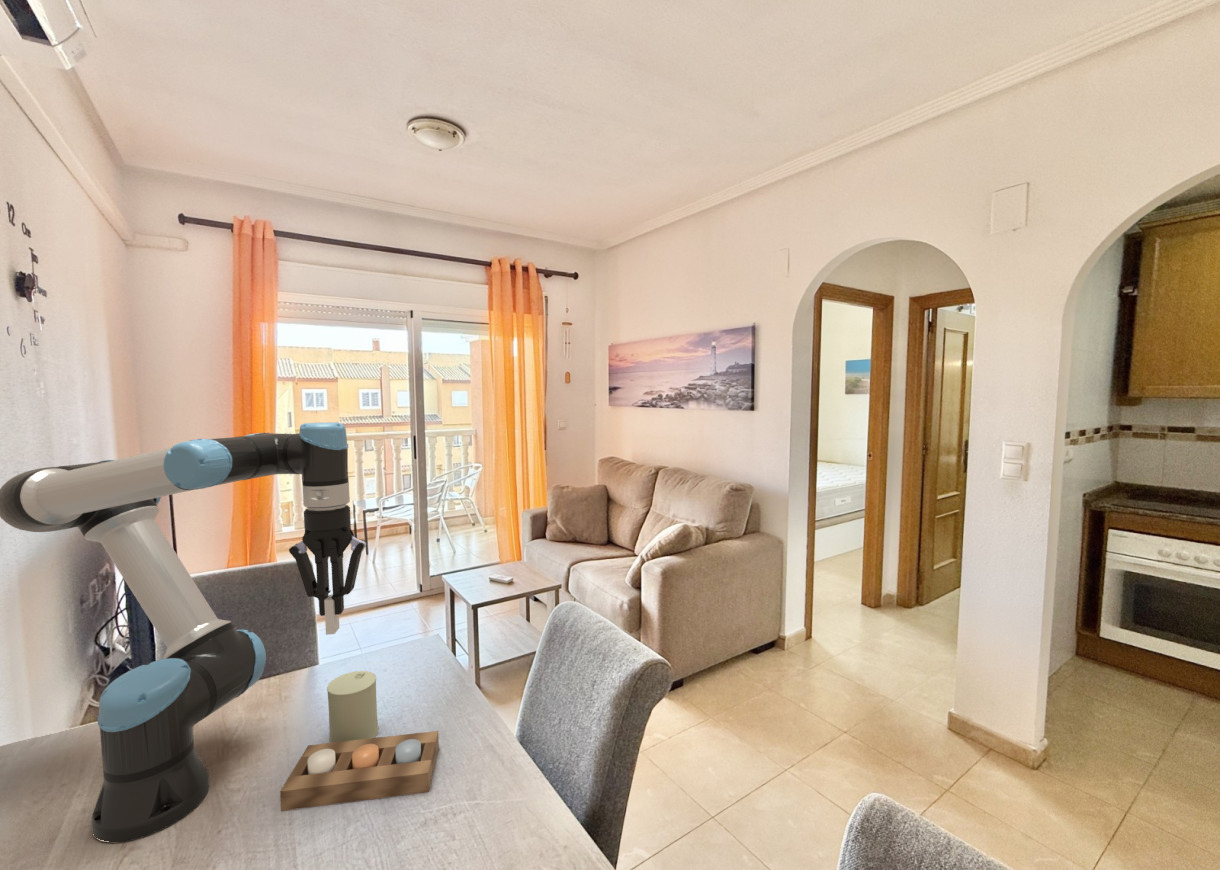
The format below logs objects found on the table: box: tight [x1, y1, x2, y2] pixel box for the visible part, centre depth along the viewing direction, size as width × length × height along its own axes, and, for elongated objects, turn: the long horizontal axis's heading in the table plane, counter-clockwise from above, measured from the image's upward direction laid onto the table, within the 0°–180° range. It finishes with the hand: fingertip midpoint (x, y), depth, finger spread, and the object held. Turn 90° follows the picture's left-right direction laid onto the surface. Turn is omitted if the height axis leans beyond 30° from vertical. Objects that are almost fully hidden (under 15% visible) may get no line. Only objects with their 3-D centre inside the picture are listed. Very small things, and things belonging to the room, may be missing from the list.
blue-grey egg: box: [396, 739, 421, 764], centre depth 98 cm, size 4×4×5 cm
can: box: [326, 670, 379, 743], centre depth 108 cm, size 9×9×12 cm
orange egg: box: [352, 744, 379, 769], centre depth 97 cm, size 4×4×5 cm
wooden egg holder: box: [279, 730, 440, 812], centre depth 97 cm, size 24×12×4 cm, turn 100°
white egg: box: [308, 749, 336, 775], centre depth 95 cm, size 4×4×5 cm
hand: (332, 631), depth 98 cm, fingers closed
